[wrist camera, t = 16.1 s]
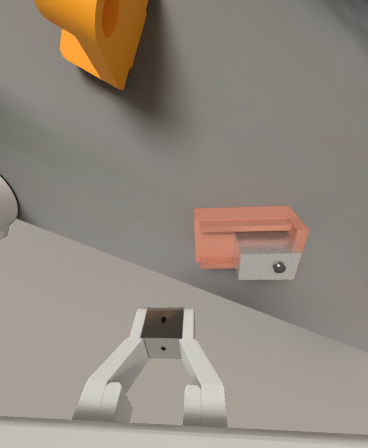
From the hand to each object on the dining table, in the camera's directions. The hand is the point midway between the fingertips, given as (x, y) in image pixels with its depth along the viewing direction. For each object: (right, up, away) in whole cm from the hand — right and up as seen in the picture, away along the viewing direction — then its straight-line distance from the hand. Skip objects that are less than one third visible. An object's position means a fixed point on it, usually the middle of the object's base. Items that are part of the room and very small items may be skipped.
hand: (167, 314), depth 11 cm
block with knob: (+13, +2, +23) cm, 26 cm away
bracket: (-8, +28, +13) cm, 32 cm away
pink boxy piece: (+11, +4, +26) cm, 29 cm away
